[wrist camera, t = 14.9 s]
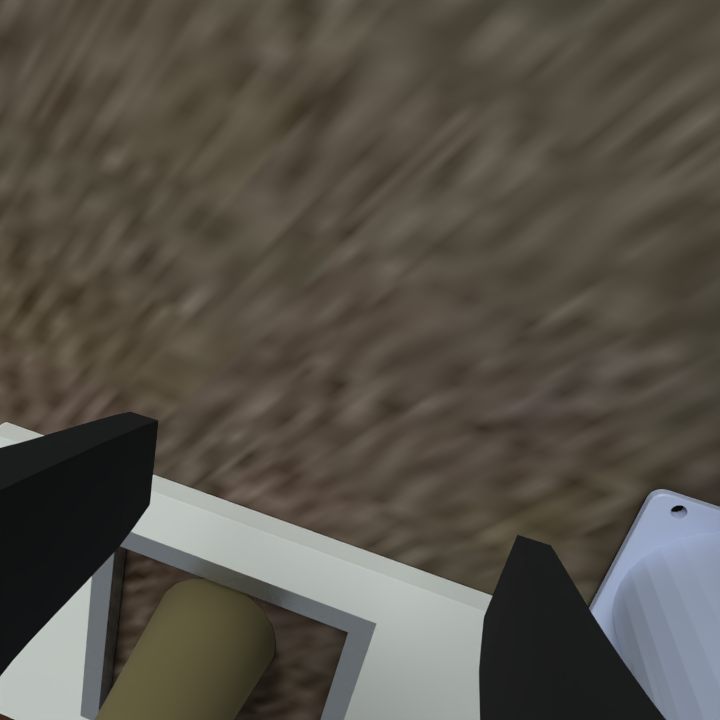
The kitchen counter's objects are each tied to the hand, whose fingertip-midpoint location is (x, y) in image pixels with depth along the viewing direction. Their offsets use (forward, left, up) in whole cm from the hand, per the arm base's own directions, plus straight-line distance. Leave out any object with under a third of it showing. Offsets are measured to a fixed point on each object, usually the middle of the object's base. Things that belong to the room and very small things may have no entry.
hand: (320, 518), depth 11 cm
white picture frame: (+4, +18, -10) cm, 21 cm away
